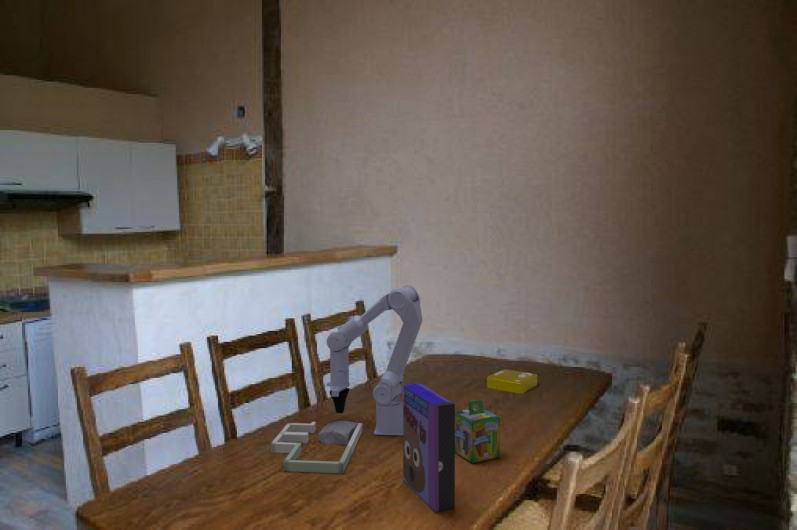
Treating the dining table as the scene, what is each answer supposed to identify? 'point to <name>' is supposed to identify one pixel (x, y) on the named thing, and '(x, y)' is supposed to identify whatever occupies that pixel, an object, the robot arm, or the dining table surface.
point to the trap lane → (299, 434)
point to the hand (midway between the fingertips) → (340, 412)
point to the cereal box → (429, 446)
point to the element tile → (512, 381)
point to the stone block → (337, 433)
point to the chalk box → (477, 433)
